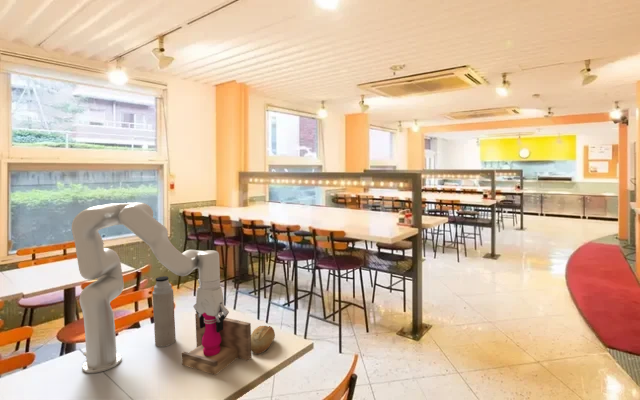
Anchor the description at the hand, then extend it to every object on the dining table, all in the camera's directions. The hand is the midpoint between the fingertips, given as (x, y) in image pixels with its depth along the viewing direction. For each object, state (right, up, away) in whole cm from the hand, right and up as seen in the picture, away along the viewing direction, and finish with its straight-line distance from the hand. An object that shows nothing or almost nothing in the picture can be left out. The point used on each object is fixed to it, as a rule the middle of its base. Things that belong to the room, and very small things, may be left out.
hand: (211, 328), depth 134 cm
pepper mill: (0, -9, +1) cm, 9 cm away
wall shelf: (0, -12, +1) cm, 12 cm away
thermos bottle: (-24, -11, +15) cm, 31 cm away
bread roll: (+18, -12, +11) cm, 24 cm away
